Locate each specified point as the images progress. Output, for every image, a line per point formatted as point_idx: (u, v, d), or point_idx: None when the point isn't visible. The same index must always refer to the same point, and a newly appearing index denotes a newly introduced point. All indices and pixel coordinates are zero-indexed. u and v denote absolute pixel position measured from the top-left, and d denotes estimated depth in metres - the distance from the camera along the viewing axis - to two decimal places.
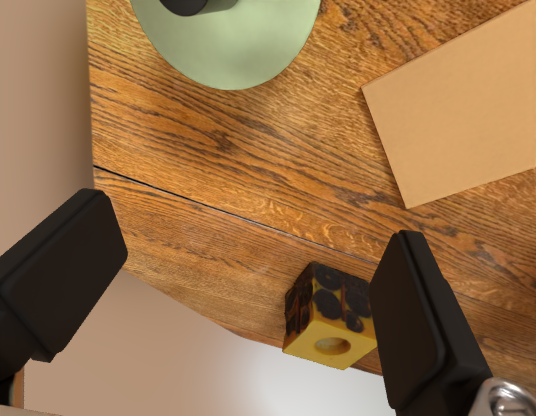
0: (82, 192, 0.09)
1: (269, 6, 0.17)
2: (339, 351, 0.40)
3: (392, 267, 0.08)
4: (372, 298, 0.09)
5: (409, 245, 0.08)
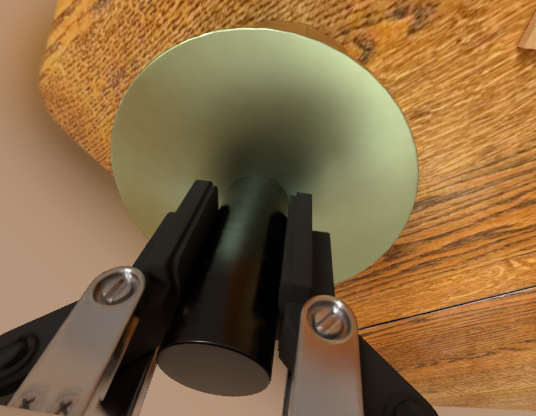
0: (198, 183, 0.09)
1: (326, 166, 0.10)
2: None
3: None
4: None
5: (296, 203, 0.09)
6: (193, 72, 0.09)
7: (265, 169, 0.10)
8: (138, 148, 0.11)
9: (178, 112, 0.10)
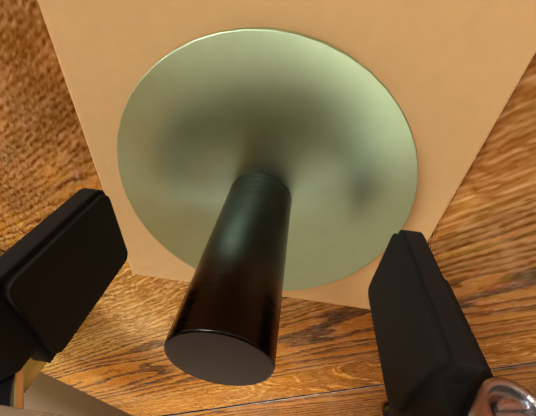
0: (82, 192, 0.09)
1: (328, 164, 0.10)
2: None
3: (392, 267, 0.08)
4: (372, 297, 0.09)
5: (409, 245, 0.08)
6: (198, 72, 0.09)
7: (268, 167, 0.11)
8: (144, 146, 0.11)
9: (183, 111, 0.10)
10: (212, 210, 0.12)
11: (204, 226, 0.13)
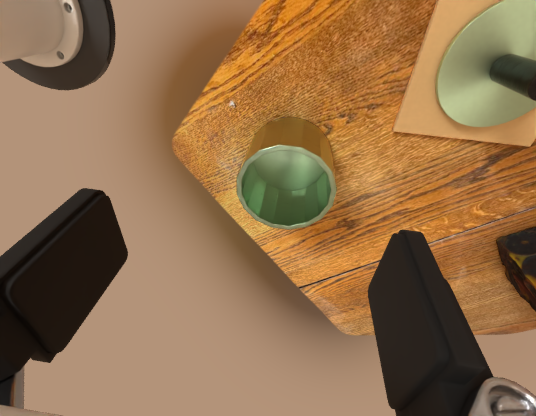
0: (82, 192, 0.09)
1: None
2: None
3: (392, 267, 0.08)
4: (372, 297, 0.09)
5: (409, 245, 0.08)
6: (508, 9, 0.25)
7: (516, 50, 0.27)
8: (465, 43, 0.27)
9: (493, 26, 0.26)
10: (478, 76, 0.29)
11: (468, 86, 0.29)
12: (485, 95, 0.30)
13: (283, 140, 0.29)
